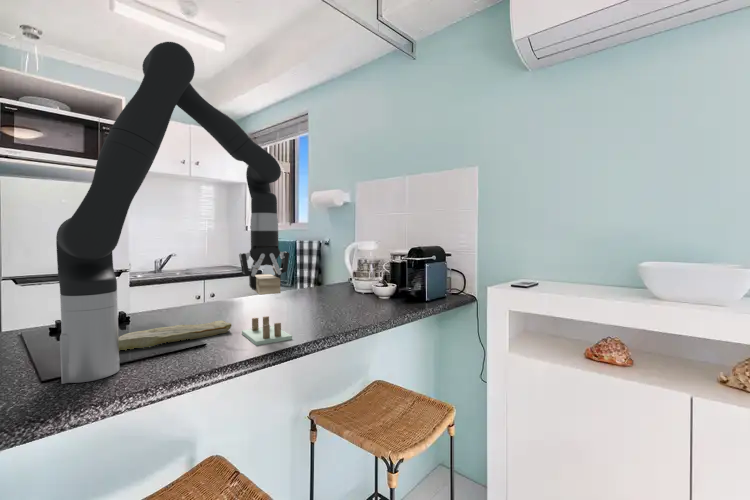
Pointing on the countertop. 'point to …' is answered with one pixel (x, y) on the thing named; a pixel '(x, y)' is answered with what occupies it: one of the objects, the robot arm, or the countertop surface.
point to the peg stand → (265, 332)
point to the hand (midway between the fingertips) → (265, 288)
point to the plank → (267, 284)
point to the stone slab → (171, 334)
